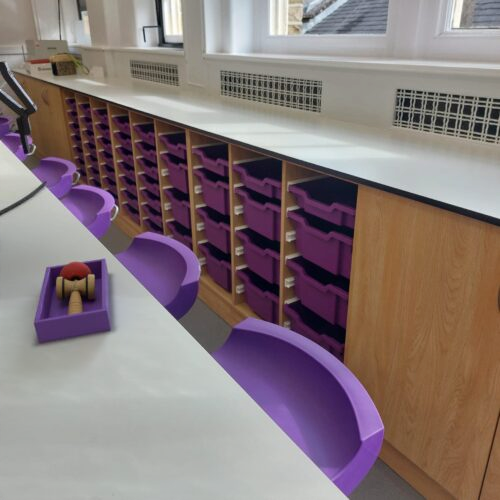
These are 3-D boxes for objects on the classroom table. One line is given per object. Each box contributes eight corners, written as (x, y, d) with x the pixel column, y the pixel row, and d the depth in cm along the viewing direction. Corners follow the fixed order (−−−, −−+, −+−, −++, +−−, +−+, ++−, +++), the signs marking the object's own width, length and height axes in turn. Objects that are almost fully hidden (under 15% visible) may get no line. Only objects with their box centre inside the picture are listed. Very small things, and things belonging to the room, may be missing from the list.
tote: (51, 287, 100) (46, 267, 98) (109, 277, 103) (105, 258, 101) (39, 346, 81) (33, 323, 79) (111, 333, 84) (106, 310, 82)
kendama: (106, 329, 86) (100, 273, 100) (93, 303, 82) (89, 249, 97) (62, 344, 85) (63, 286, 99) (47, 318, 81) (50, 261, 96)
